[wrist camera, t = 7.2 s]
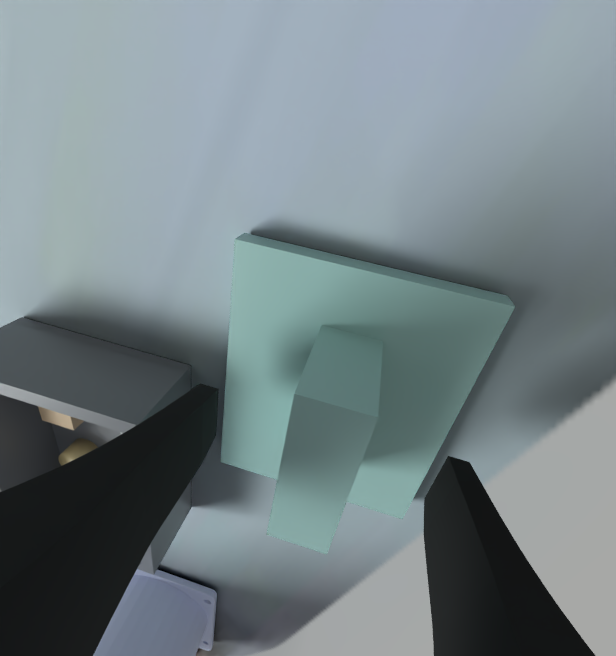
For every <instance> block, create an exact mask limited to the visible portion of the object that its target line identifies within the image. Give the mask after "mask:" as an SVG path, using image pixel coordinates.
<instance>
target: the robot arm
mask: <svg viewBox="0 0 616 656" xmlns="http://www.w3.org/2000/svg"><path fill="white" fill-rule="evenodd" d="M217 407H218V389H217V388H213V387H210V386H206V385H203V384H199V385H197V386H196V387H194V388H193V389H191V390H190V391H188V392H187V393H185V394H184V395H183V396H181V397H180V398H178V399H177V400H175V401H174V402H172V403H171V404H169V405H168V406H166V407H165V408H163V409H162V410H160V411H158V412H157V413H155V414H154V415H152V416H151V417H149V418H147V419H146V420H144V421H143V422H141V423H140V424H138V425H136V426H135V427H133V428H131V429H130V430H128V431H126V432H124V433H123V434H121V435H119V436H117V437H116V438H114V439H112V440H111V441H109V442H107V443H105V444H103V445H102V446H100V447H98V448H96V449H94V450H92V451H90V452H88V453H86V454H85V455H83V456H80V457H78V458H76V459H74V460H72V461H70V462H68V463H66V464H64V465H62V466H60V467H58V468H55V469H53V470H51V471H49V472H47V473H44V474H42V475H40V476H37V477H35V478H33V479H30V480H28V481H26V482H24V483H21V484H19V485H17V486H14V487H12V488H9V489H7V490H4V491H1V492H0V656H195V655H196V653H197V650H198V648H201V649H204V650H207V651H210V650H211V649H212V646H213V639H214V627H215V614H216V602H217V593H216V592H215V591H214V590H213V589H211V588H208V587H205V586H202V585H199V584H197V583H194V582H191V581H188V580H186V579H183V578H180V577H177V576H174V575H172V574H169V573H166V572H163V571H160V570H158V569H157V570H156V572H155V574H154V575H153V574H150V573H147V572H144V571H142V570H139V569H137V568H138V566H139V564H140V562H141V561H142V559H143V557H144V555H145V553H146V551H147V549H148V547H149V546H150V544H151V542H152V541H153V539H154V537H155V536H156V534H157V532H158V531H159V529H160V527H161V526H162V524H163V523H164V521H165V520H166V518H167V517H168V515H169V514H170V512H171V510H172V509H173V507H174V506H175V504H176V503H177V501H178V500H179V498H180V497H181V495H182V494H183V492H184V490H185V489H186V487H187V486H188V484H189V483H190V481H191V480H192V478H193V476H194V475H195V473H196V472H197V470H198V469H199V467H200V465H201V464H202V462H203V460H204V458H205V456H206V454H207V452H208V450H209V448H210V446H211V444H212V442H213V440H214V438H215V436H216V426H217ZM424 542H425V553H426V564H427V574H428V584H429V594H430V604H431V614H432V624H433V641H434V656H595V655H594V653H593V652H592V651H591V649H590V648H589V647H588V646H587V644H586V643H585V642H584V640H583V639H582V638H581V636H580V635H579V634H578V632H577V631H576V630H575V628H574V627H573V625H572V624H571V623H570V621H569V620H568V619H567V617H566V616H565V615H564V613H563V612H562V611H561V609H560V608H559V607H558V605H557V604H556V602H555V601H554V599H553V598H552V596H551V595H550V594H549V592H548V591H547V589H546V588H545V586H544V585H543V584H542V582H541V580H540V579H539V577H538V576H537V574H536V573H535V571H534V570H533V568H532V567H531V565H530V564H529V562H528V561H527V559H526V558H525V556H524V554H523V553H522V551H521V550H520V548H519V547H518V545H517V543H516V542H515V540H514V539H513V537H512V535H511V533H510V532H509V530H508V528H507V527H506V525H505V523H504V522H503V520H502V518H501V517H500V515H499V513H498V512H497V510H496V508H495V507H494V505H493V503H492V501H491V499H490V498H489V496H488V494H487V492H486V491H485V489H484V487H483V485H482V483H481V482H480V480H479V478H478V476H477V475H476V473H475V471H474V469H473V468H472V466H471V464H470V462H467V461H463V460H460V459H457V458H453V457H450V456H448V457H447V459H446V461H445V463H444V465H443V466H442V468H441V470H440V472H439V474H438V475H437V477H436V479H435V481H434V482H433V484H432V486H431V488H430V490H429V491H428V493H427V495H426V497H425V502H424Z"/></svg>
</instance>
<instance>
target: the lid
mask: <svg viewBox="0 0 616 656" xmlns="http://www.w3.org/2000/svg"><path fill="white" fill-rule="evenodd" d="M514 309H515V306H514V304H513V303H512V301H511V300H510V299H509V297H508V296H507V295H503V294H499V293H495V292H490V291H486V290H482V289H478V288H474V287H469V286H465V285H461V284H457V283H453V282H448V281H444V280H440V279H436V278H432V277H427V276H423V275H419V274H415V273H411V272H407V271H402V270H398V269H394V268H390V267H386V266H381V265H377V264H373V263H369V262H365V261H360V260H356V259H352V258H348V257H344V256H340V255H335V254H331V253H327V252H323V251H319V250H314V249H310V248H306V247H302V246H298V245H293V244H289V243H285V242H281V241H277V240H273V239H268V238H264V237H260V236H256V235H252V234H247V233H244V234H242V235H241V236H239V237H237V238H236V239H235V244H234V259H233V275H232V290H231V306H230V321H229V337H228V352H227V368H226V383H225V399H224V414H223V429H222V445H221V460H220V462H222V463H225V464H228V465H231V466H235V467H238V468H241V469H244V470H247V471H250V472H254V473H257V474H260V475H263V476H266V477H269V478H273V479H276V480H277V483H276V488H275V494H274V499H273V504H272V509H271V514H270V519H269V524H268V529H267V534H266V535H269V536H272V537H275V538H278V539H281V540H284V541H288V542H291V543H294V544H297V545H300V546H303V547H306V548H309V549H312V550H315V551H318V552H321V553H324V554H327V553H328V550H329V547H330V545H331V542H332V539H333V537H334V534H335V531H336V529H337V526H338V523H339V521H340V518H341V515H342V513H343V510H344V507H345V505H346V502H349V503H352V504H355V505H359V506H362V507H365V508H368V509H371V510H374V511H378V512H381V513H384V514H387V515H390V516H394V517H397V518H400V519H403V517H404V515H405V513H406V511H407V509H408V508H409V506H410V504H411V502H412V500H413V498H414V496H415V494H416V493H417V491H418V489H419V487H420V485H421V483H422V481H423V479H424V478H425V476H426V474H427V472H428V470H429V468H430V466H431V464H432V462H433V461H434V459H435V457H436V455H437V453H438V451H439V449H440V447H441V446H442V444H443V442H444V440H445V438H446V436H447V434H448V432H449V431H450V429H451V427H452V425H453V423H454V421H455V419H456V417H457V416H458V414H459V412H460V410H461V408H462V406H463V404H464V402H465V401H466V399H467V397H468V395H469V393H470V391H471V389H472V387H473V385H474V384H475V382H476V380H477V378H478V376H479V374H480V372H481V370H482V369H483V367H484V365H485V363H486V361H487V359H488V357H489V355H490V354H491V352H492V350H493V348H494V346H495V344H496V342H497V340H498V339H499V337H500V335H501V333H502V331H503V329H504V327H505V325H506V324H507V322H508V320H509V318H510V316H511V314H512V312H513V310H514Z"/></svg>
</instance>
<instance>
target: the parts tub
mask: <svg viewBox="0 0 616 656" xmlns="http://www.w3.org/2000/svg"><path fill="white" fill-rule="evenodd" d="M190 390H191V366H190V365H187V364H183V363H180V362H176V361H173V360H169V359H166V358H162V357H159V356H155V355H152V354H149V353H145V352H142V351H138V350H135V349H131V348H128V347H124V346H121V345H117V344H114V343H110V342H107V341H103V340H100V339H96V338H93V337H89V336H86V335H82V334H79V333H75V332H72V331H68V330H65V329H61V328H58V327H54V326H51V325H47V324H44V323H40V322H37V321H33V320H30V319H26V318H23V317H22V318H19V319H17V320H15V321H13V322H11V323H9V324H7V325H5V326H3V327H1V328H0V492H1V491H4V490H7V489H9V488H12V487H14V486H17V485H19V484H21V483H24V482H26V481H28V480H30V479H33V478H35V477H37V476H40V475H42V474H44V473H47V472H49V471H51V470H53V469H55V468H58V467H60V466H62V465H64V464H66V463H68V462H70V461H72V460H74V459H76V458H78V457H80V456H83V455H85V454H86V453H88V452H90V451H92V450H94V449H96V448H98V447H100V446H102V445H103V444H105V443H107V442H109V441H111V440H112V439H114V438H116V437H117V436H119V435H121V434H123V433H124V432H126V431H128V430H130V429H131V428H133V427H135V426H136V425H138V424H140V423H141V422H143V421H144V420H146V419H147V418H149V417H151V416H152V415H154V414H155V413H157V412H158V411H160V410H162V409H163V408H165V407H166V406H168V405H169V404H171V403H172V402H174V401H175V400H177V399H178V398H180V397H181V396H183V395H184V394H185V393H187V392H188V391H190ZM190 509H191V481H190V483H189V484H188V486H187V487H186V489H185V490H184V492H183V494H182V495H181V497H180V498H179V500H178V501H177V503H176V504H175V506H174V507H173V509H172V510H171V512H170V514H169V515H168V517H167V518H166V520H165V521H164V523H163V524H162V526H161V527H160V529H159V531H158V532H157V534H156V536H155V537H154V539H153V541H152V542H151V544H150V546H149V547H148V549H147V551H146V553H145V555H144V557H143V559H142V561H141V562H140V564H139V566H138V568H137V569H139V570H142V571H144V572H147V573H150V574H153V575H154V574H155V572H156V570H157V568H158V566H159V565H160V563H161V561H162V559H163V557H164V556H165V554H166V552H167V550H168V548H169V547H170V545H171V543H172V541H173V539H174V538H175V536H176V534H177V532H178V530H179V529H180V527H181V525H182V523H183V521H184V520H185V518H186V516H187V514H188V512H189V511H190Z"/></svg>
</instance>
